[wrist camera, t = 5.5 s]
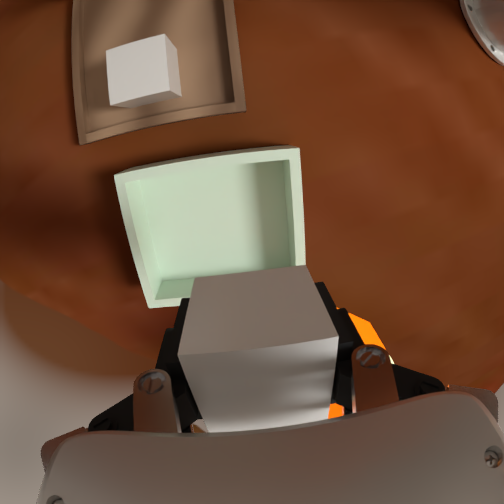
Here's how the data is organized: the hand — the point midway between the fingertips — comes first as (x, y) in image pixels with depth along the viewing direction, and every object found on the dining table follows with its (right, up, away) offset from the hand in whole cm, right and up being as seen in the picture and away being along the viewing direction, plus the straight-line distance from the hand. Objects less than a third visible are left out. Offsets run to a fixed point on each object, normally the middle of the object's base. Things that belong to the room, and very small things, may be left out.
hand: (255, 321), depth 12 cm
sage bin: (-3, +6, +14) cm, 15 cm away
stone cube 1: (0, 0, 0) cm, 0 cm away
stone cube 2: (-8, +17, +8) cm, 21 cm away
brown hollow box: (-9, +21, +7) cm, 24 cm away
